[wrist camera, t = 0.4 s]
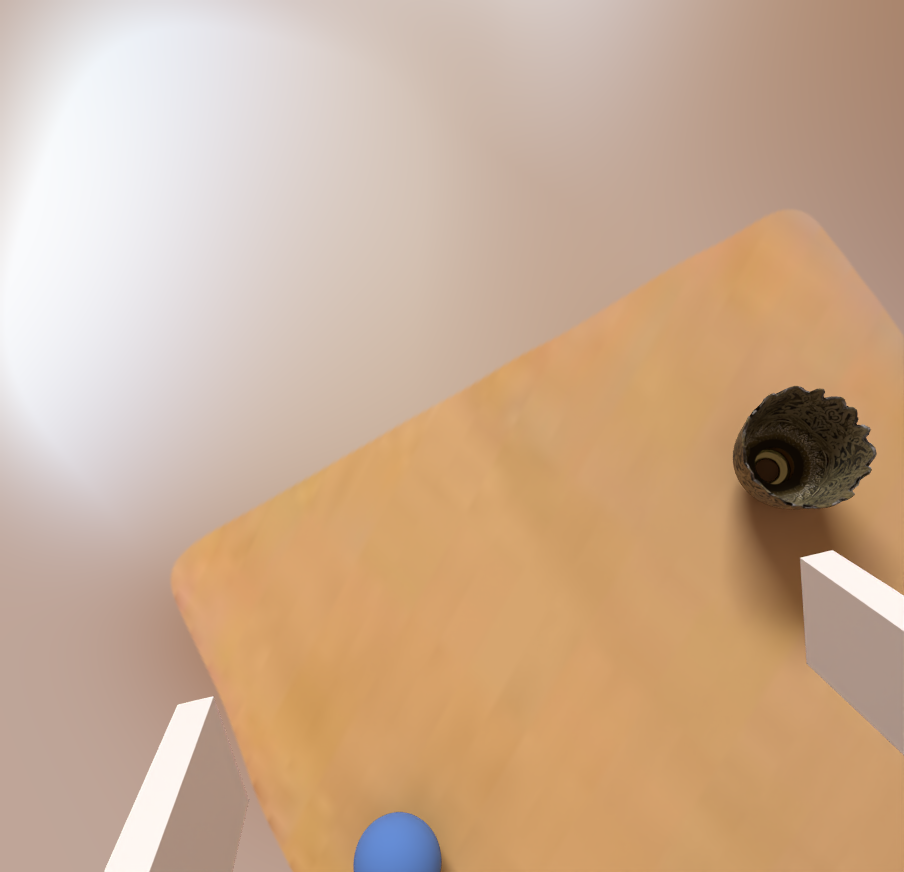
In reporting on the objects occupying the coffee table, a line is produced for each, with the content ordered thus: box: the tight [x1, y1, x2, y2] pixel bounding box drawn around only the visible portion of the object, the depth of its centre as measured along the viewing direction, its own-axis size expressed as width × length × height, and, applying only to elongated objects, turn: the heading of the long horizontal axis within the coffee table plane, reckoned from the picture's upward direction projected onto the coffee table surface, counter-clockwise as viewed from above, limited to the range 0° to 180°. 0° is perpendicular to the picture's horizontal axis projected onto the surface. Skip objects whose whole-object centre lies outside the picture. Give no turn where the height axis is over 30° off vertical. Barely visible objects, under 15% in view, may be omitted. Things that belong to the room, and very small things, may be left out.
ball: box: [354, 812, 441, 872], centre depth 43 cm, size 6×6×6 cm
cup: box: [733, 386, 876, 509], centre depth 45 cm, size 8×7×8 cm
